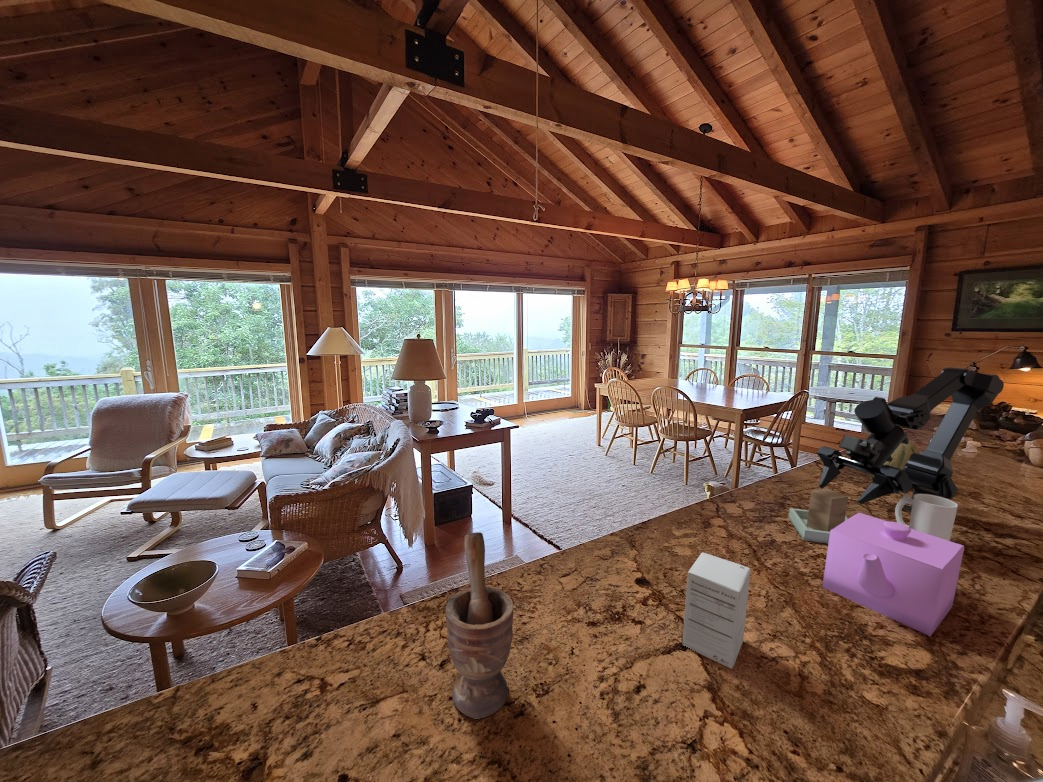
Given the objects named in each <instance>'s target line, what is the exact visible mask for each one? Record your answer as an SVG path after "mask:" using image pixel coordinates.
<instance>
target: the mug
mask: <svg viewBox="0 0 1043 782" xmlns="http://www.w3.org/2000/svg"><path fill="white" fill-rule="evenodd" d="M907 504H909V505H912V510H911V513H910V517H909V518H910V519H909V525H908V524H907V523H906V522H905V521H904V519H903V515H902V510H903V508H904V507H903V506H904V505H907ZM958 506H959V504H958V503H956V502H955V501H953V500H952V499H946V498H942V497H939V496H934V495H928V494H915V495H914V498H913V499H912V496H908V495H907V494H903V495H902V497H901V498H900V500H899V501H898V502H897V504H896V506H895V509H894V512H895V513H894V515H895V519H896V522H897V523H900V524H903V525H905V526H907V527H909V528H911V529H914V530H916V531H919V532H922V533H926V534H929V535H932V536H935V537H938V538H941V539H945V540H948V541H951V537H952V533H953V529H954V524H955V519H956V516H957V512H958Z"/></svg>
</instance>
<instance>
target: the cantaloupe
mask: <svg viewBox="0 0 1043 782" xmlns="http://www.w3.org/2000/svg"><path fill="white" fill-rule="evenodd" d="M913 453H918V454H919V453H920V451H919V449H918V447H917V446H916V445H914V443H913V442H911V441H910V440H909V443H908V444H903V443H901V444H900V445H899V446H898V447H897V449H896V450H895V451H894V452H893V453H892V455H891V457H892V458H893V460H892V461H891V462H888V461H886V462H885V463H884V464H883V465H889V466H892V467H896V468H899V469H902V470H903V469H904V467H905V464H906V463H907V462H908V461H909V459H910V456H911V455H912V454H913ZM868 475H869V476H870V477H872V478H874V475H870V474H868Z"/></svg>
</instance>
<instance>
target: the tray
mask: <svg viewBox="0 0 1043 782" xmlns="http://www.w3.org/2000/svg"><path fill="white" fill-rule="evenodd" d="M808 511H809V509H808V510H807V509H802V508H801V509H800V508H791V507H789V509H788V519H789V520H790V522H791V523H792V525H793V526H794V527H795V529H796V531H797V532H798V534H799V535H800V537H801V538H802V540H803V541H808V542H814V543H818V544H819V543H821V544H827V545H828V544H829V537H830V532H827V531H819V530H813V529H811V528H809V527H807V519H808ZM848 519H849V518H848V517H847V516H846V515H845V521H846V520H848Z"/></svg>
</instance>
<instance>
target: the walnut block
mask: <svg viewBox="0 0 1043 782" xmlns="http://www.w3.org/2000/svg"><path fill="white" fill-rule="evenodd" d="M809 497H810V498H809V504H808V510H809V511H808V519H807V527H809V528H811V529H813V530H819V531H827V532H830V531H831V530H832V529H834V528H835V527H837V526H838V525H840V524H841V523H843V522H844V521H845V516H846V515H847V509H848V507H847V506H848V500H849V496H848V495H845V494H843V493H839V492H838V491H834V490H833V489H830V488H826V487H825V488H819V489H813V490H810V496H809Z"/></svg>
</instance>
